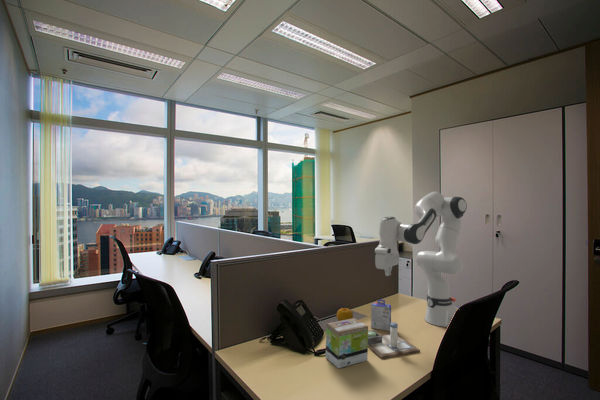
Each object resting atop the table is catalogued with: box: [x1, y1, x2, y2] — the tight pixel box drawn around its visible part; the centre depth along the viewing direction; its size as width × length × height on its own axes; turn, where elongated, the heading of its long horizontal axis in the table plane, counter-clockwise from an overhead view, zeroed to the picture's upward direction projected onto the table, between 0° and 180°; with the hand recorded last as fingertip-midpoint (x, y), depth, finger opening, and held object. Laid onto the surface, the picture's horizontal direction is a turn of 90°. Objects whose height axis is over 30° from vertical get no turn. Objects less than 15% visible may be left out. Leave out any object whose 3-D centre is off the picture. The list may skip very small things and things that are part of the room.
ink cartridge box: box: [370, 298, 392, 332], centre depth 152 cm, size 10×6×14 cm, turn 66°
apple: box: [336, 307, 354, 321], centre depth 155 cm, size 9×9×9 cm
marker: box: [389, 321, 398, 349], centre depth 129 cm, size 3×3×10 cm
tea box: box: [325, 317, 369, 369], centre depth 121 cm, size 15×10×15 cm
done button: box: [368, 330, 376, 337], centre depth 135 cm, size 4×4×3 cm
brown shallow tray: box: [368, 329, 421, 360], centre depth 132 cm, size 20×18×4 cm
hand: (388, 275), depth 147 cm, fingers closed
